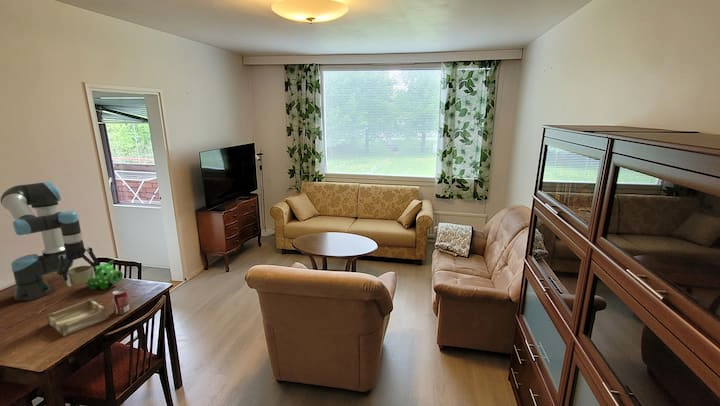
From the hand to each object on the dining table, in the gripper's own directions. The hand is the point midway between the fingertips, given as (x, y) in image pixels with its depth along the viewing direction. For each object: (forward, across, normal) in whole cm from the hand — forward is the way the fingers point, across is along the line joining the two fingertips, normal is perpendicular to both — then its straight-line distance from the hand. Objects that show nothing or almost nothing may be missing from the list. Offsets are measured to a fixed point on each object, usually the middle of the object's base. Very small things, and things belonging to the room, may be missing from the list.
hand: (81, 281), depth 179 cm
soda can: (+19, +10, -14) cm, 25 cm away
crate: (+18, -6, -5) cm, 20 cm away
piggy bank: (+18, +19, +26) cm, 37 cm away
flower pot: (+1, 0, 0) cm, 1 cm away
